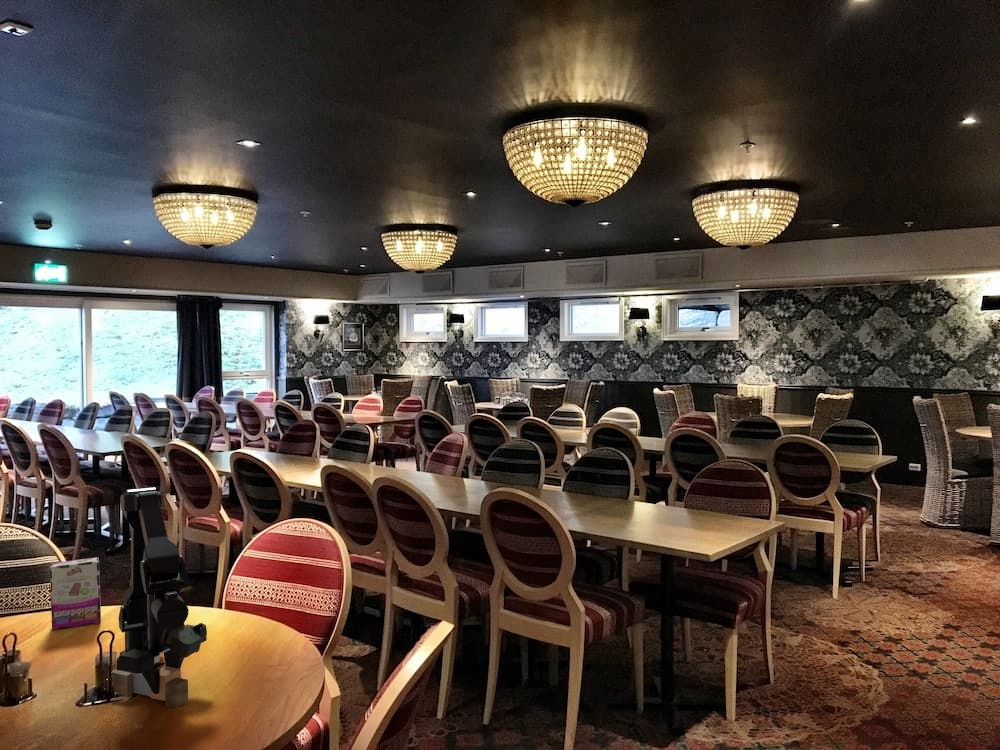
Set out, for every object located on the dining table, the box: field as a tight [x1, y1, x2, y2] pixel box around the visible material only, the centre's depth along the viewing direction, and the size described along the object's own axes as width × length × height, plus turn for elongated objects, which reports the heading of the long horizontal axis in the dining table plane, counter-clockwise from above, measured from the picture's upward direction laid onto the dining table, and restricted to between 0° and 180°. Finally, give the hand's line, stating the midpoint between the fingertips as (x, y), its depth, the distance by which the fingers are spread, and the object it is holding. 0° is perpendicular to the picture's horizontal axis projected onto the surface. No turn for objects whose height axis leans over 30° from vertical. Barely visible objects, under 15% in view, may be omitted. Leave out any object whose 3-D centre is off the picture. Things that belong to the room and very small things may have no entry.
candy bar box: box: [49, 556, 102, 631], centre depth 200 cm, size 11×5×16 cm, turn 117°
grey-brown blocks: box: [111, 669, 189, 709], centre depth 159 cm, size 20×3×4 cm, turn 69°
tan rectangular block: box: [150, 665, 182, 701], centre depth 157 cm, size 4×4×5 cm
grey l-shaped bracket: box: [123, 671, 151, 697], centre depth 162 cm, size 10×7×4 cm
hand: (164, 689), depth 158 cm, fingers closed on tan rectangular block, 4 cm apart
